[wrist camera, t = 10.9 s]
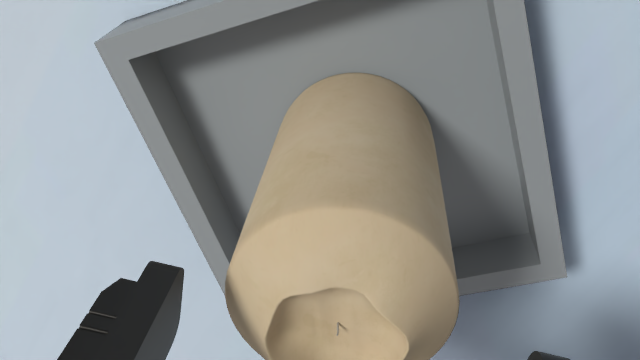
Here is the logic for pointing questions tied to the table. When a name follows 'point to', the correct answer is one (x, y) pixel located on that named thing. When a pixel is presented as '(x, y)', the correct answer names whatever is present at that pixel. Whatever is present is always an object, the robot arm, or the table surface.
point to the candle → (347, 232)
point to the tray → (337, 58)
